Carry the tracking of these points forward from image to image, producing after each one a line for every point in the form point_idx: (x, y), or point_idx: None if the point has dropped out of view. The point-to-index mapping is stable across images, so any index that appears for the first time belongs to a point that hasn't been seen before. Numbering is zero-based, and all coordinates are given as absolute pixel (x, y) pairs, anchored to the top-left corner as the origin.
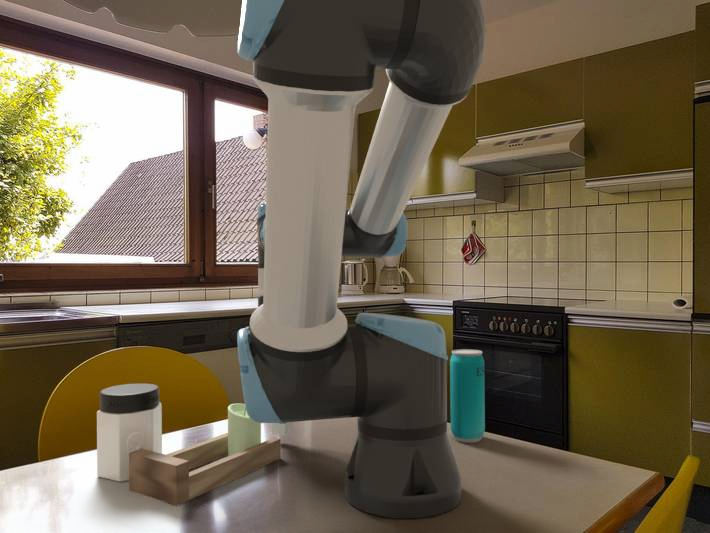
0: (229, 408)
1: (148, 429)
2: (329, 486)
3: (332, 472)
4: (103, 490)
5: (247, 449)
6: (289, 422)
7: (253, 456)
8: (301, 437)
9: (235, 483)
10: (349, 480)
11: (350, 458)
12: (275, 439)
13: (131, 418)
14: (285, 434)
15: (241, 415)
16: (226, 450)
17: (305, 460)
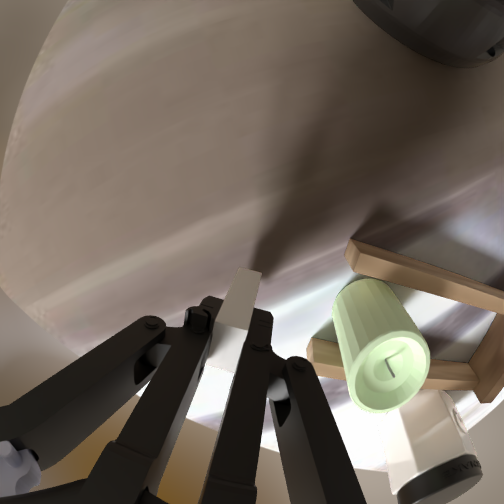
0: (407, 400)
1: (459, 431)
2: (451, 95)
3: (395, 99)
4: (467, 392)
5: (436, 291)
6: (239, 280)
7: (433, 272)
8: (194, 250)
9: (468, 263)
10: (499, 54)
11: (494, 44)
12: (366, 263)
13: (472, 449)
14: (260, 273)
15: (425, 360)
16: None
17: (348, 177)
